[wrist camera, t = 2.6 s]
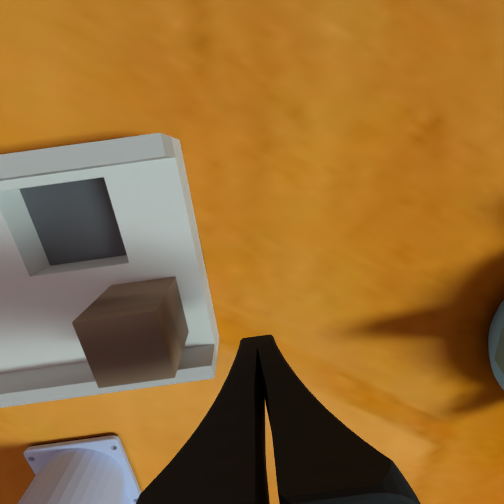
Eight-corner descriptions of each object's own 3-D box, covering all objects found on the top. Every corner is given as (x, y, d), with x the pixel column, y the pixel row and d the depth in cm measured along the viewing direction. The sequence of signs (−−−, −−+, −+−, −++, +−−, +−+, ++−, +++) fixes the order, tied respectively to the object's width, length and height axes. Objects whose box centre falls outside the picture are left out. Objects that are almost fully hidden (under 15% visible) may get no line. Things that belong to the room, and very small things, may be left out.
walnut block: (188, 331, 18) (174, 377, 14) (128, 339, 18) (98, 388, 14) (175, 276, 16) (156, 311, 13) (110, 285, 16) (71, 322, 13)
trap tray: (219, 337, 20) (214, 378, 16) (-68, 377, 20) (-140, 426, 16) (179, 139, 16) (160, 132, 12) (-191, 190, 16) (-327, 199, 12)
